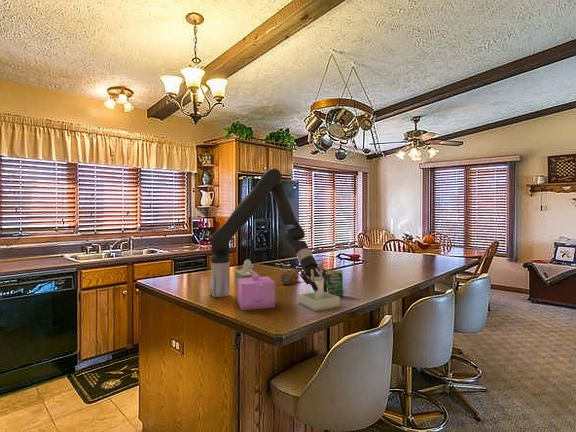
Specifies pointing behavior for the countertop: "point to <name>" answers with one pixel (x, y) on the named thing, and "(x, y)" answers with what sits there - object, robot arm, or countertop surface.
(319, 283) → the salt shaker
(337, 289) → the coffee box
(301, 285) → the countertop surface
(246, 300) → the pink storage box
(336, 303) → the bin
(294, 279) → the tin
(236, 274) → the tissue box
